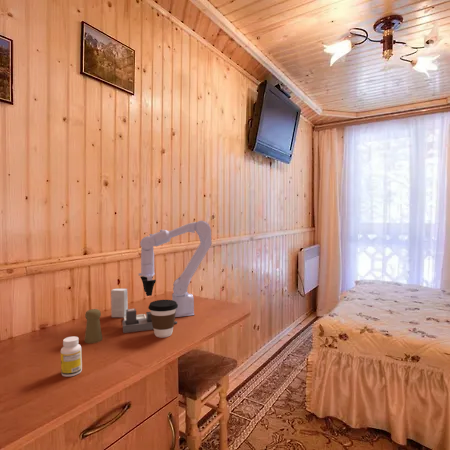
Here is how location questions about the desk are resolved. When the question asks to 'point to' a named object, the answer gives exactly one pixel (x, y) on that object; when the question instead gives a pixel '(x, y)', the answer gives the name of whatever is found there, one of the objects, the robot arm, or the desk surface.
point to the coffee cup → (163, 317)
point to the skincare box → (119, 302)
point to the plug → (130, 316)
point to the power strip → (140, 324)
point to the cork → (93, 326)
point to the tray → (138, 316)
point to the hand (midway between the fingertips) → (148, 293)
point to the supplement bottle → (71, 357)
